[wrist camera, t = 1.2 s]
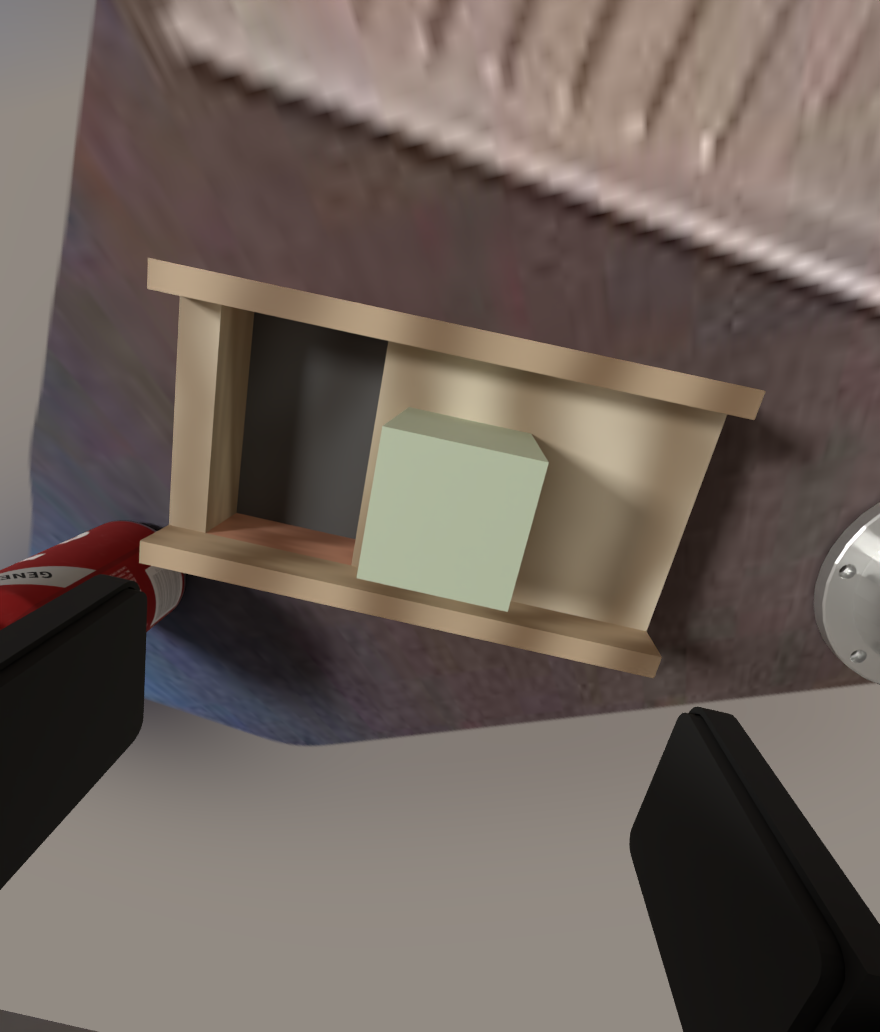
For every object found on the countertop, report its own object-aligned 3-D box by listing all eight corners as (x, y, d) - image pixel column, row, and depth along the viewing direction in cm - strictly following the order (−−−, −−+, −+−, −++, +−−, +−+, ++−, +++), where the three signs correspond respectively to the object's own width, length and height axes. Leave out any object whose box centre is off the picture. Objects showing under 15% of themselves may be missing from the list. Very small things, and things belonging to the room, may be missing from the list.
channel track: (702, 382, 28) (765, 391, 21) (620, 615, 32) (653, 678, 26) (222, 279, 28) (148, 257, 22) (205, 522, 32) (139, 562, 26)
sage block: (531, 433, 25) (548, 462, 18) (501, 547, 27) (507, 611, 20) (409, 406, 25) (382, 426, 18) (387, 522, 27) (356, 578, 20)
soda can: (200, 537, 33) (47, 637, 21) (182, 628, 35) (33, 763, 23) (96, 501, 32) (-115, 582, 21) (84, 595, 34) (-115, 715, 23)
